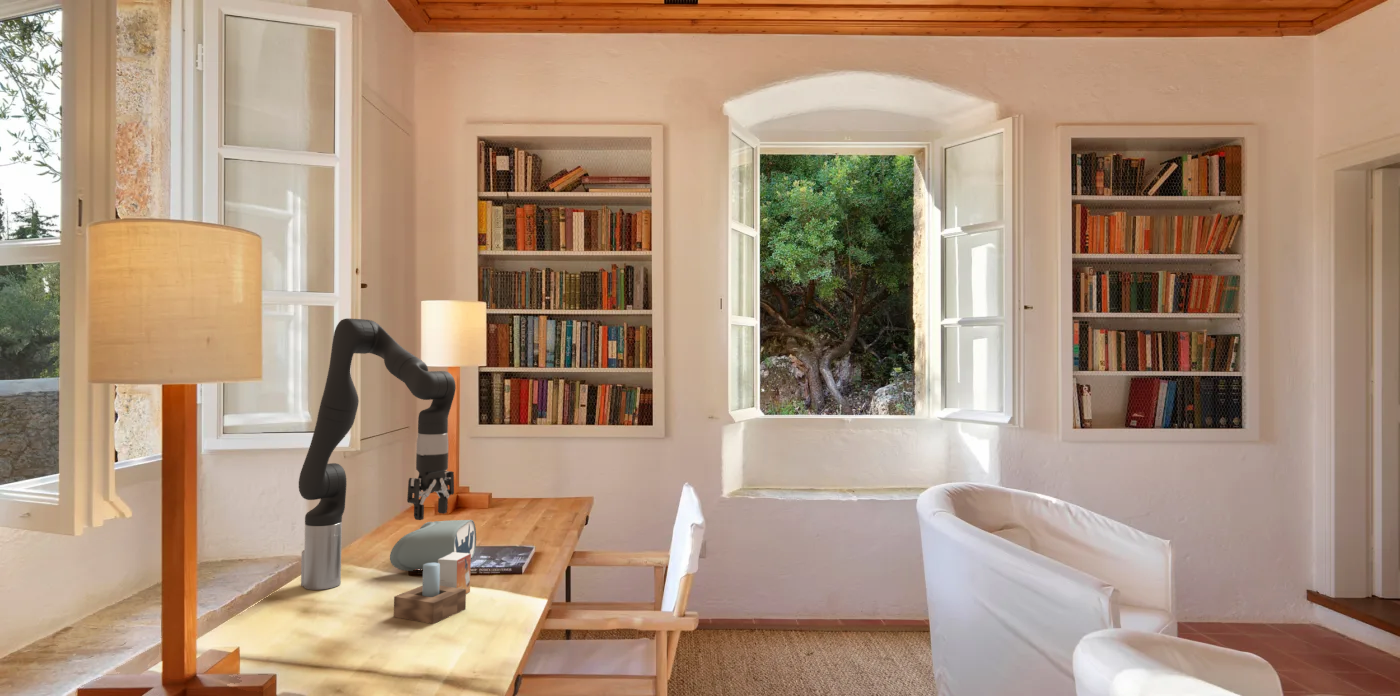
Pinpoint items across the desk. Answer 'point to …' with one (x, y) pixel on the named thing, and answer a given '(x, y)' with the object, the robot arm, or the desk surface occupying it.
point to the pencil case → (433, 543)
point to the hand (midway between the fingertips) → (430, 516)
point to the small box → (455, 570)
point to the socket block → (429, 604)
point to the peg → (431, 579)
